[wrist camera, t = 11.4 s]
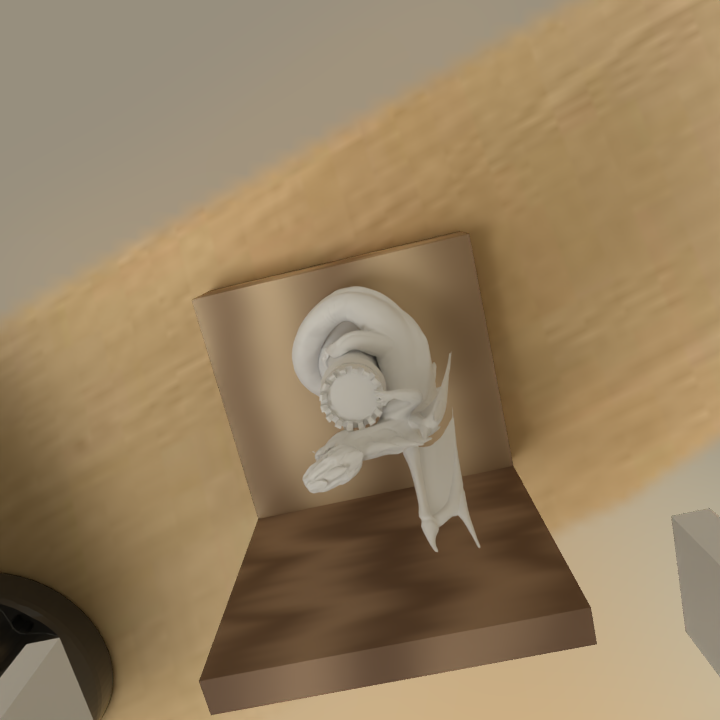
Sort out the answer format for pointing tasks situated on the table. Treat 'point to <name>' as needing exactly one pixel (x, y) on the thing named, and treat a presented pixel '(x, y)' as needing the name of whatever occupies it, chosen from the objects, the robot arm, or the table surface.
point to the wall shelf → (374, 504)
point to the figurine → (379, 400)
